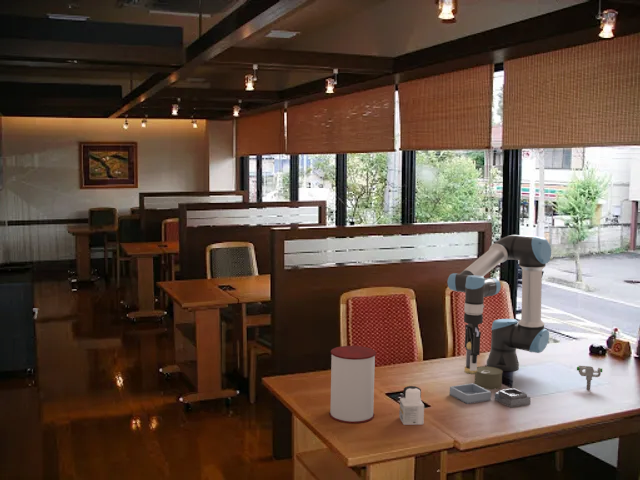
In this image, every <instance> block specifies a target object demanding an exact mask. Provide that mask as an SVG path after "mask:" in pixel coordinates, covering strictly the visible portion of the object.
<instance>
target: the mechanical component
mask: <svg viewBox="0 0 640 480" xmlns="http://www.w3.org/2000/svg"><path fill="white" fill-rule="evenodd" d="M576 371H578V374H579V375H580V376H581V377H585V380H586V390H587V391H591V384H592V380H593V378H594V377H595V378H599V377H600V376H601V375H602V374H601V373H603V368H601V367H598V368H597V370H595V368H594V367H593V366H592V365H591V366H588V365H578V366H577V367H576Z"/></svg>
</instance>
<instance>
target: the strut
mask: <svg viewBox="0 0 640 480" xmlns="http://www.w3.org/2000/svg"><path fill="white" fill-rule="evenodd" d="M466 351H467V358H466V357H465V366H464V371H463V372H464V373H465V374H467V375H475V374H477V371H470V354H471V341H470V342H468V343H467V350H466Z"/></svg>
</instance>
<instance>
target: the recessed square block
mask: <svg viewBox="0 0 640 480" xmlns="http://www.w3.org/2000/svg"><path fill="white" fill-rule="evenodd" d="M531 398H532V397H531V396H528V393H526V392H524V391H522V390H520V389H518V388H515V387H513V388H512V387H511V388H504V389H500V390H499V389H498V391H497V392H494V400H495V401H497V402H499V403H500V404H503V405H505V406H506V407H509V408H510V409H511V408H516V407H517V408H518V407H522V406H523V407H525V406H529V405H531Z"/></svg>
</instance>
